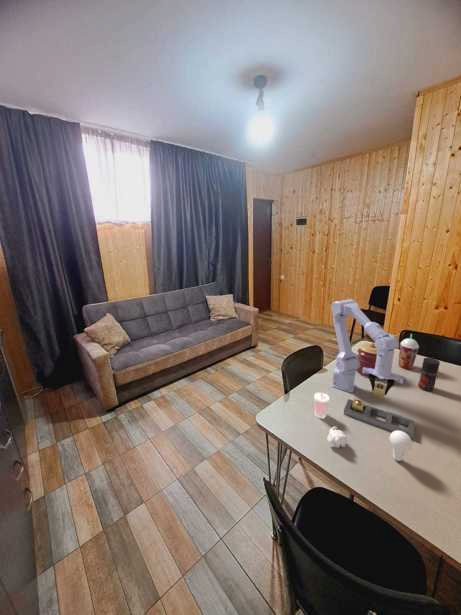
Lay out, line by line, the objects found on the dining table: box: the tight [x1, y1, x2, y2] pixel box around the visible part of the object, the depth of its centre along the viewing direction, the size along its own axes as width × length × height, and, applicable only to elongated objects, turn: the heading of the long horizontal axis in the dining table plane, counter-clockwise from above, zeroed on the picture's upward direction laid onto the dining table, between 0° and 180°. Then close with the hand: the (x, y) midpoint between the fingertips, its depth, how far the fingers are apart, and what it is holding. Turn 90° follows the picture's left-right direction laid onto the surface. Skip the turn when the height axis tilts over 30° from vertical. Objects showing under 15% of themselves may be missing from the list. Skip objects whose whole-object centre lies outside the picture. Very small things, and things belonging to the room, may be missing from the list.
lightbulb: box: [389, 430, 413, 462], centre depth 82 cm, size 6×6×11 cm
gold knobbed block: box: [351, 398, 366, 414], centre depth 105 cm, size 4×4×6 cm
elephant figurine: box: [326, 426, 350, 449], centre depth 89 cm, size 7×8×6 cm
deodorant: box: [417, 357, 440, 393], centre depth 118 cm, size 6×6×15 cm
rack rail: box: [343, 398, 415, 441], centre depth 101 cm, size 24×8×2 cm, turn 53°
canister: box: [356, 342, 379, 379], centre depth 133 cm, size 13×13×18 cm
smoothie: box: [398, 333, 420, 370], centre depth 136 cm, size 8×8×20 cm
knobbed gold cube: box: [372, 382, 387, 401], centre depth 105 cm, size 4×4×6 cm
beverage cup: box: [313, 385, 330, 419], centre depth 103 cm, size 6×6×14 cm
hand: (379, 391), depth 105 cm, fingers closed on knobbed gold cube, 4 cm apart
